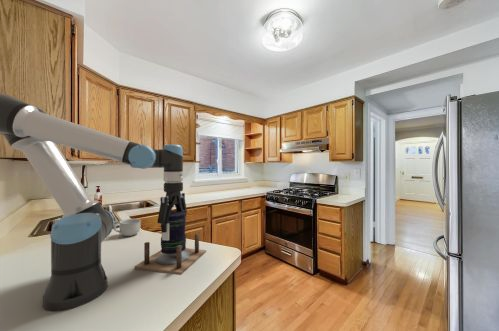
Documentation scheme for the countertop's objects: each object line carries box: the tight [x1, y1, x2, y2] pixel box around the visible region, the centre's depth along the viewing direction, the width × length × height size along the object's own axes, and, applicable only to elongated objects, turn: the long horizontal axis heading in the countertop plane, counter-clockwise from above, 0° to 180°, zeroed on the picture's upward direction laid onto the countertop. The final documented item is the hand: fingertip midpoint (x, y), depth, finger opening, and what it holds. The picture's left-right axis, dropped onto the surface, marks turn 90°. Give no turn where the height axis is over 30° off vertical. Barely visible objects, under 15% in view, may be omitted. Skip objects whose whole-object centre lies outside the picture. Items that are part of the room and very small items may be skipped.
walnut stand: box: [134, 232, 207, 275], centre depth 86 cm, size 20×20×10 cm
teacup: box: [113, 218, 142, 237], centre depth 118 cm, size 14×11×8 cm
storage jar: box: [160, 210, 187, 254], centre depth 86 cm, size 10×10×15 cm
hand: (173, 235), depth 86 cm, fingers closed on storage jar, 10 cm apart
